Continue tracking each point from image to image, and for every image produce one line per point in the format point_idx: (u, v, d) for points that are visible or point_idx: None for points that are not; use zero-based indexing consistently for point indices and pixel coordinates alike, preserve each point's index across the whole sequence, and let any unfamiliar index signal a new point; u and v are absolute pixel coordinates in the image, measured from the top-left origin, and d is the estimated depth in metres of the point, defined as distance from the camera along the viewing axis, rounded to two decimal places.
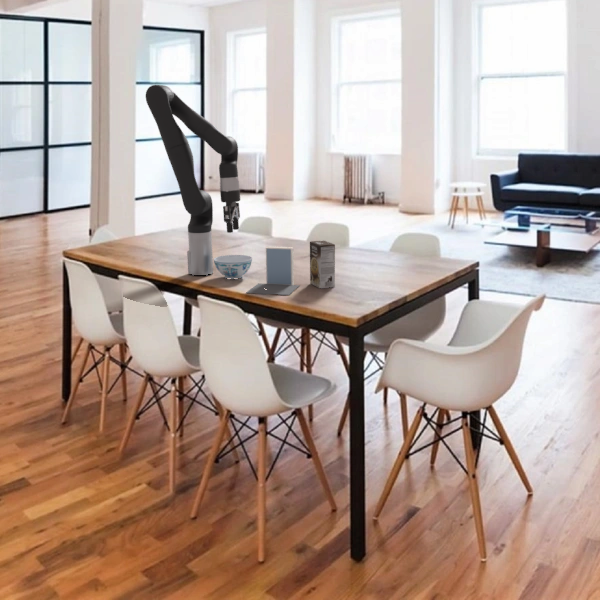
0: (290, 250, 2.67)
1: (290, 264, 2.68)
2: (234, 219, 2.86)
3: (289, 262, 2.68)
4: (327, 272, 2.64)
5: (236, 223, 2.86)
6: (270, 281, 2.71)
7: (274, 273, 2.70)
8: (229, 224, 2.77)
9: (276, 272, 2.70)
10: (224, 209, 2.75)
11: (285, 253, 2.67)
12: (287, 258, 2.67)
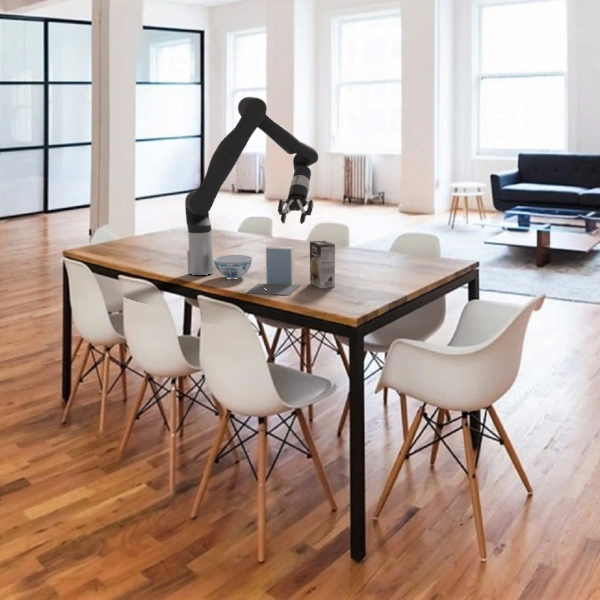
0: (290, 250, 2.67)
1: (290, 264, 2.68)
2: (285, 213, 2.87)
3: (289, 262, 2.68)
4: (327, 272, 2.64)
5: (285, 218, 2.87)
6: (270, 281, 2.71)
7: (274, 273, 2.70)
8: (305, 216, 2.85)
9: (276, 272, 2.70)
10: (312, 203, 2.86)
11: (285, 253, 2.67)
12: (287, 258, 2.67)
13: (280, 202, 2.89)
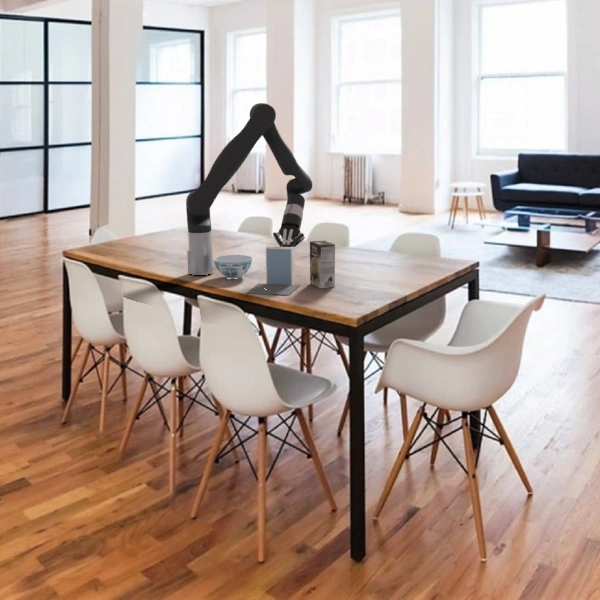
0: (290, 250, 2.67)
1: (290, 264, 2.68)
2: None
3: (289, 262, 2.68)
4: (327, 272, 2.64)
5: None
6: (270, 281, 2.71)
7: (274, 273, 2.70)
8: None
9: (276, 272, 2.70)
10: (302, 237, 2.78)
11: (285, 253, 2.67)
12: (287, 258, 2.67)
13: (275, 235, 2.80)
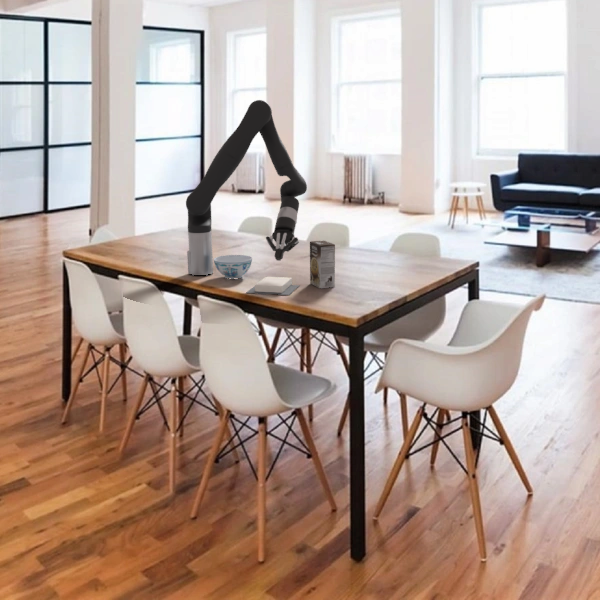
0: (281, 292, 2.57)
1: None
2: None
3: None
4: (327, 272, 2.64)
5: None
6: None
7: None
8: (283, 252, 2.69)
9: None
10: (296, 241, 2.69)
11: None
12: None
13: (268, 239, 2.72)
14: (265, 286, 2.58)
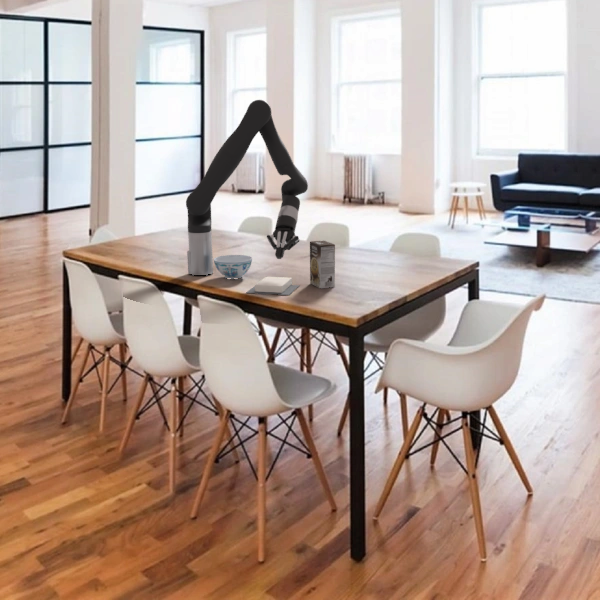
0: (281, 292, 2.57)
1: None
2: None
3: None
4: (327, 272, 2.64)
5: None
6: None
7: None
8: (283, 251, 2.70)
9: None
10: (296, 239, 2.70)
11: None
12: None
13: (269, 237, 2.73)
14: (265, 286, 2.58)
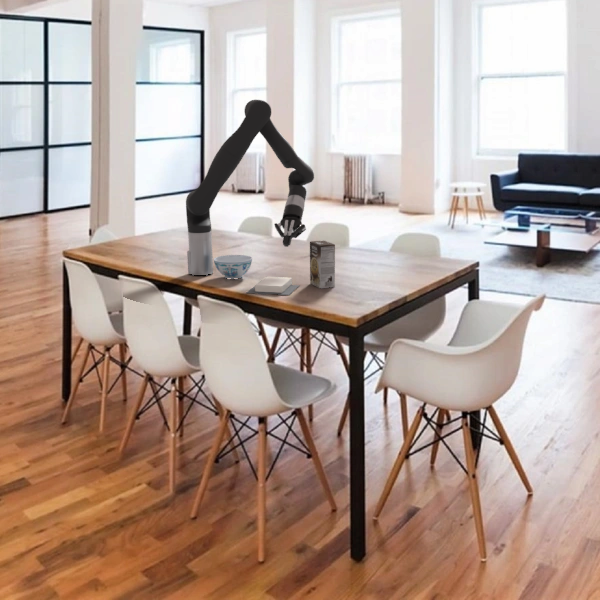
0: (281, 292, 2.57)
1: None
2: None
3: None
4: (327, 272, 2.64)
5: None
6: None
7: None
8: None
9: None
10: (303, 228, 2.80)
11: None
12: None
13: (276, 226, 2.82)
14: (265, 286, 2.58)
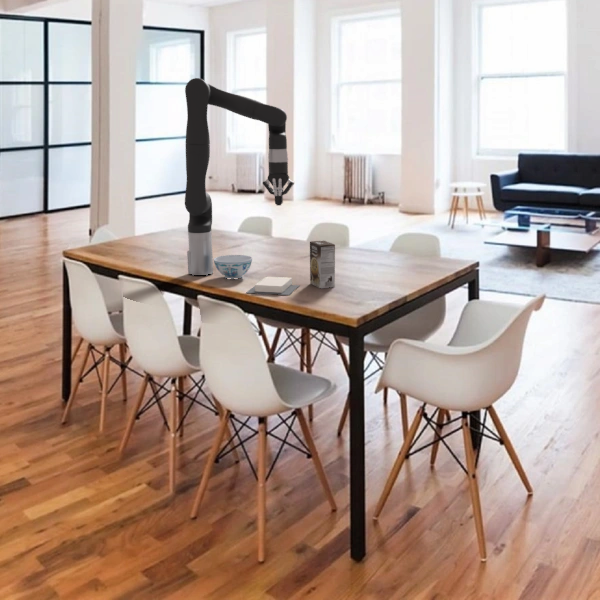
0: (281, 292, 2.57)
1: None
2: (278, 193, 2.85)
3: None
4: (327, 272, 2.64)
5: None
6: None
7: None
8: (282, 197, 2.86)
9: None
10: (291, 185, 2.83)
11: None
12: None
13: (265, 184, 2.85)
14: (265, 286, 2.58)
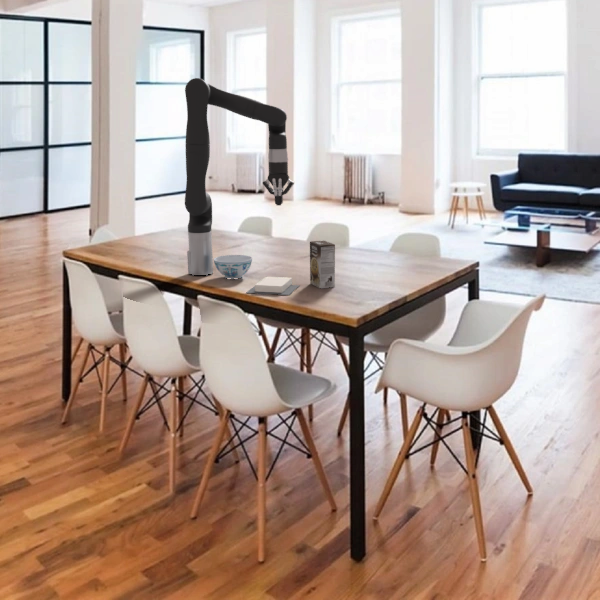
0: (281, 292, 2.57)
1: None
2: (278, 193, 2.85)
3: None
4: (327, 272, 2.64)
5: None
6: None
7: None
8: (282, 197, 2.86)
9: None
10: (291, 185, 2.83)
11: None
12: None
13: (265, 184, 2.85)
14: (265, 286, 2.58)
